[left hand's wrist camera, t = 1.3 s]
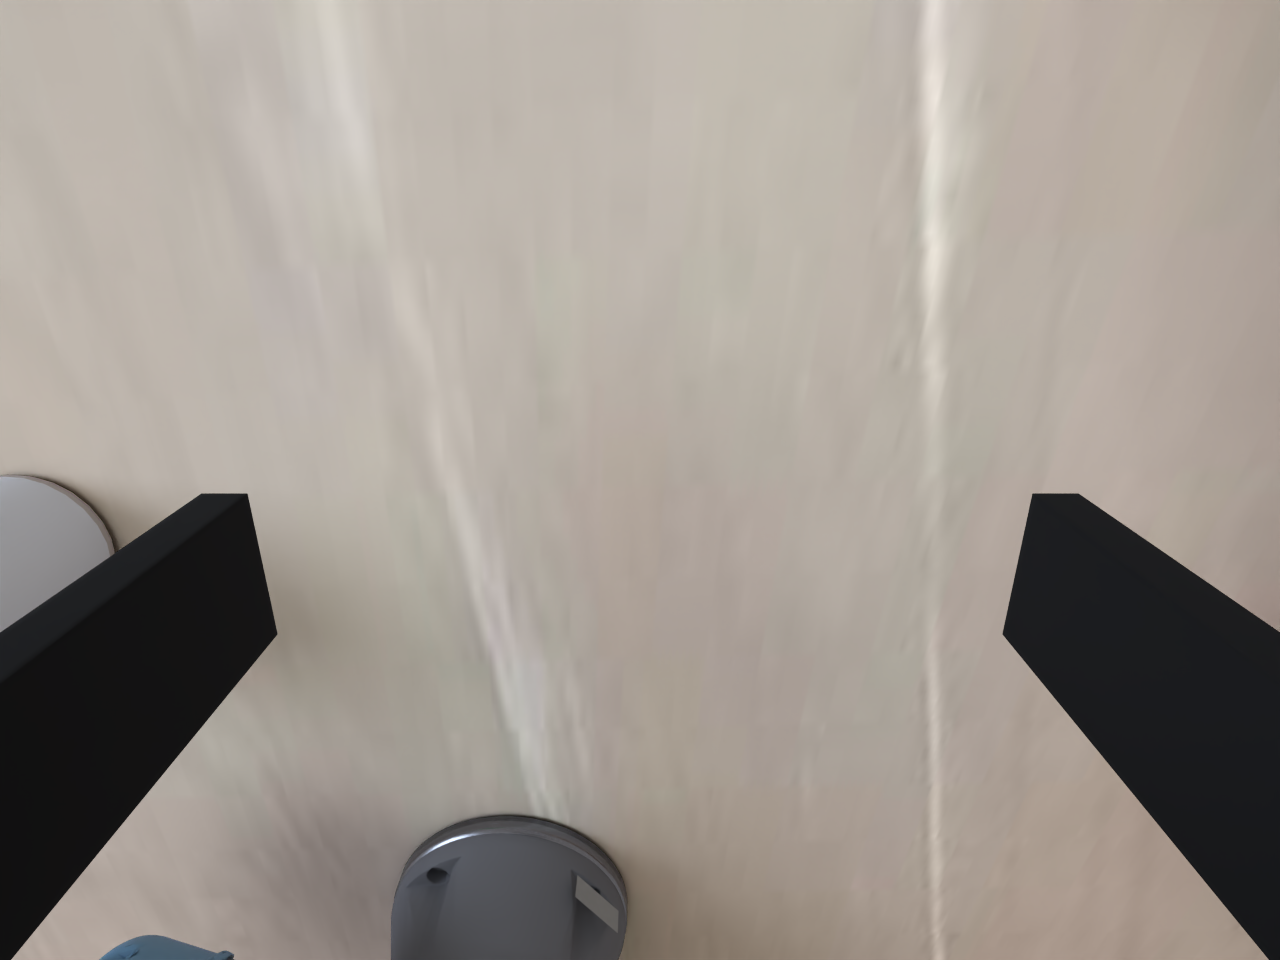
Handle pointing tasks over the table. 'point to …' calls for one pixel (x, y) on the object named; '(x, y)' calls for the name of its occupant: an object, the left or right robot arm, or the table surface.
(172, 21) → the table surface
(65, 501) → the mug
